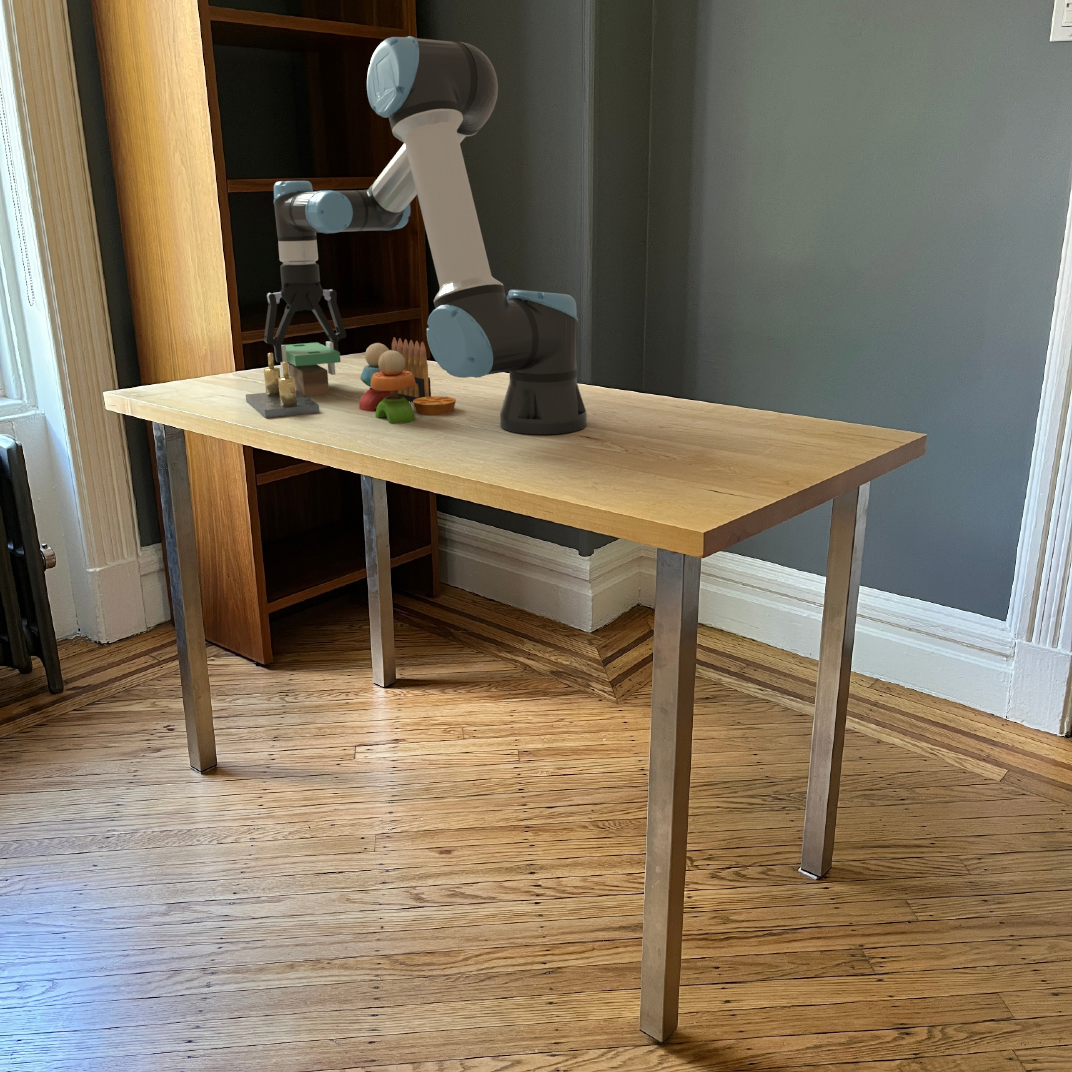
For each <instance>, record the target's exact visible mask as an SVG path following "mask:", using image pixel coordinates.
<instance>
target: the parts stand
mask: <svg viewBox="0 0 1072 1072" xmlns="http://www.w3.org/2000/svg"><path fill="white" fill-rule="evenodd" d="M288 369H289V377H294V378H295V386H296V390H297V391H299V392H300V393H302V394H303V395H305V396H306V397H313V396H323V395H330V389H329V378H328V377H329V373H328V369H326V368H324V367H322V366H321V365H320V364H315V365H303V366H295V365H293V364H291V363H288Z"/></svg>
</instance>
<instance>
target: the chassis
mask: <svg viewBox="0 0 1072 1072" xmlns="http://www.w3.org/2000/svg"><path fill="white" fill-rule="evenodd" d="M274 360H275V358H274V353H273V352H269V353H267V361H268V367H266V368H263V376H264V388H265V392H260V393H249V394H245V401H246V403H247V404H248V405H250V406H251V407H252V408H253V409H254V410H255V411H256V412H257V413H259V415H261V416H262V417H263V418H264V419H269V418H270V419H271V418H272V419H273V418H280V417H281V418H282V417H292V416H299V415H308V414H319V413H320V405H319V403H317V402H315V401H314V400H312V399H310V397H309V396H305V395H303V394H302V393H300V392H299V391H297V390H296V386H295V378H294V377H289V367H288V364H289V362H282V364H283V376H284V377H282V376H281V367H275V361H274Z"/></svg>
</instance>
